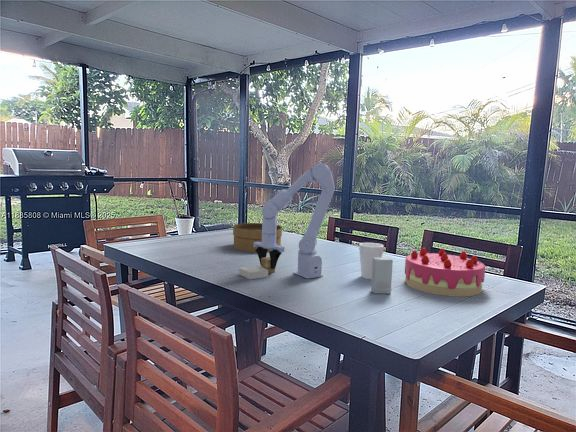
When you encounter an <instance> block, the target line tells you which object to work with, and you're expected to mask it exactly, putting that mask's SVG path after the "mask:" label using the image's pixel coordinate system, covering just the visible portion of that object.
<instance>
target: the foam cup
mask: <svg viewBox="0 0 576 432" xmlns="http://www.w3.org/2000/svg"><path fill="white" fill-rule="evenodd" d="M358 245H359V247H358V250H359V261H360V273H361V275H360V276H361V278H363V279H367V280H372V260H373V257H378V258H383V254H384V248H385V246H384V244H382V243H377V242H360V243H359V244H358Z"/></svg>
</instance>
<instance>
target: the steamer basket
mask: <svg viewBox="0 0 576 432" xmlns="http://www.w3.org/2000/svg"><path fill="white" fill-rule="evenodd" d="M232 232H233V233H232V235H233V248H234V249H235V250H239V251H242V252H249V253H250V252H251V253H257V252H256V249H257V248H258V247H254V242H262V222H261V223H260V222H246V223H238V224H237V223H236V224H234V225H233V226H232ZM282 234H283V227H282V226H281V225H277V229H276V244H277V245H280V246H281V245H282V243H281V242H282V236H283V235H282ZM269 251H273V250H269V249H268V251H267V253H269Z"/></svg>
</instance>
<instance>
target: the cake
mask: <svg viewBox="0 0 576 432" xmlns="http://www.w3.org/2000/svg"><path fill="white" fill-rule="evenodd" d="M404 263H405V264H404V274H405V280H404V281H405V284H406V285H408V286H409V287H411V288H413V289H415V290H418V291H421V292H425V293H428V294H434V295H440V296H447V297H471V296H477V295H479V294H481V292H482V290H483V289H482V288H483V283H484V282H485V277H486V275H485V274H486V265H485V264H484V263H483V262H481V261H480V260H478V257H477V256H476V255H472V256H471V257H470V258H468V255H467V252H466V251H465V250H463V251H462V252H461V253H460V254H459V255H453V254H447V253H446V251H445V249H444V248H443V247H441V248H440V249H439V251H438V253H434V252H433V253H431V252H428V251H427V250H426V248H425V247H422V248H420V251H419V253H418V252H417V250H413V251H412V252H411V254H409V255H406V256H405V262H404Z"/></svg>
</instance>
